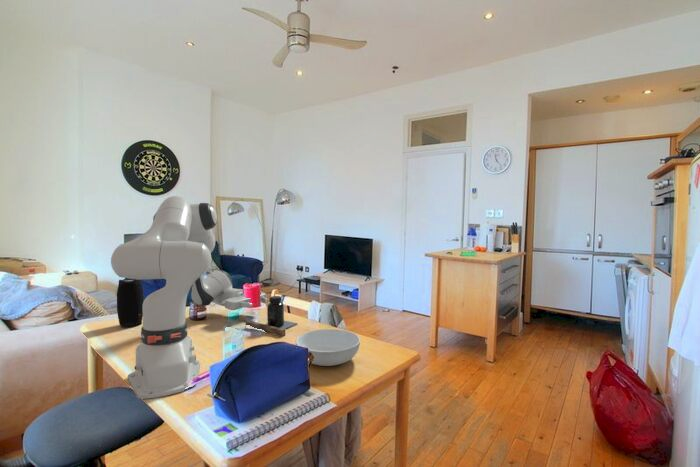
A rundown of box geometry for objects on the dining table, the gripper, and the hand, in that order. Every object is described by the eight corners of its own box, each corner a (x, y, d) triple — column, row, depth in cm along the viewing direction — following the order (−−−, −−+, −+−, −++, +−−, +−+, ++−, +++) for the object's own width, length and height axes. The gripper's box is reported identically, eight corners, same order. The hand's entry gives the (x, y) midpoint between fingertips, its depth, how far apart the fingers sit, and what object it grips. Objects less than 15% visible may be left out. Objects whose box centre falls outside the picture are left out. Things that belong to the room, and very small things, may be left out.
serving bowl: (320, 343, 126) (320, 325, 125) (370, 355, 115) (371, 335, 115) (281, 363, 108) (281, 342, 108) (337, 380, 97) (337, 357, 97)
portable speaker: (147, 324, 144) (146, 278, 143) (122, 330, 137) (121, 281, 136) (138, 320, 149) (137, 276, 148) (113, 325, 142) (112, 279, 141)
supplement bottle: (286, 325, 143) (286, 297, 142) (271, 329, 139) (271, 300, 138) (279, 321, 148) (279, 294, 147) (264, 324, 144) (264, 296, 143)
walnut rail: (285, 335, 133) (285, 329, 133) (282, 336, 132) (282, 330, 132) (248, 326, 143) (248, 320, 143) (245, 327, 142) (245, 321, 141)
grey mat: (297, 324, 147) (297, 323, 147) (280, 331, 137) (280, 330, 137) (278, 320, 152) (278, 319, 152) (260, 327, 143) (260, 325, 143)
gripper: (218, 296, 148) (240, 301, 141) (253, 288, 165) (274, 291, 159) (218, 310, 148) (240, 316, 141) (253, 300, 166) (274, 304, 159)
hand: (259, 303), depth 150 cm, fingers open, 8 cm apart
